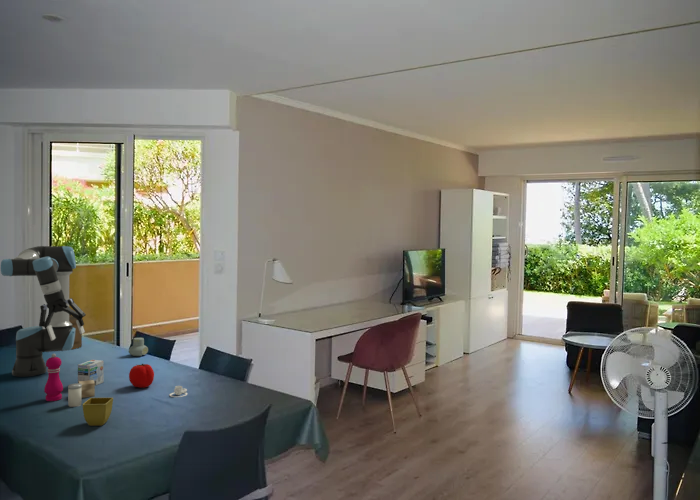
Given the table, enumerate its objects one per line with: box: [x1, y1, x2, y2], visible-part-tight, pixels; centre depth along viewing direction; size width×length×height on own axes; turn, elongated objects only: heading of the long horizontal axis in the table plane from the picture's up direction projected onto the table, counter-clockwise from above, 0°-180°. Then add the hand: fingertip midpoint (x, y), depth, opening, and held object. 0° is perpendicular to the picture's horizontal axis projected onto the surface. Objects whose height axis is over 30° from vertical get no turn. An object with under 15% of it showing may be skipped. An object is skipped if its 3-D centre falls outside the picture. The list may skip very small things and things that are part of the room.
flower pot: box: [81, 397, 114, 427], centre depth 215 cm, size 9×9×9 cm
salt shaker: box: [67, 382, 82, 408], centre depth 236 cm, size 5×5×8 cm
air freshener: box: [128, 337, 149, 357], centre depth 327 cm, size 11×8×10 cm
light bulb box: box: [77, 359, 105, 387], centre depth 266 cm, size 11×7×11 cm, turn 168°
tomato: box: [128, 363, 155, 389], centre depth 265 cm, size 12×12×11 cm
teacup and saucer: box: [168, 385, 188, 398], centre depth 254 cm, size 9×8×4 cm
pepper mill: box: [43, 353, 64, 402], centre depth 243 cm, size 7×7×20 cm
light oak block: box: [79, 380, 96, 399], centre depth 250 cm, size 6×6×6 cm
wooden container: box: [69, 314, 83, 350], centre depth 344 cm, size 15×15×22 cm
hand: (68, 336), depth 250 cm, fingers open, 13 cm apart
